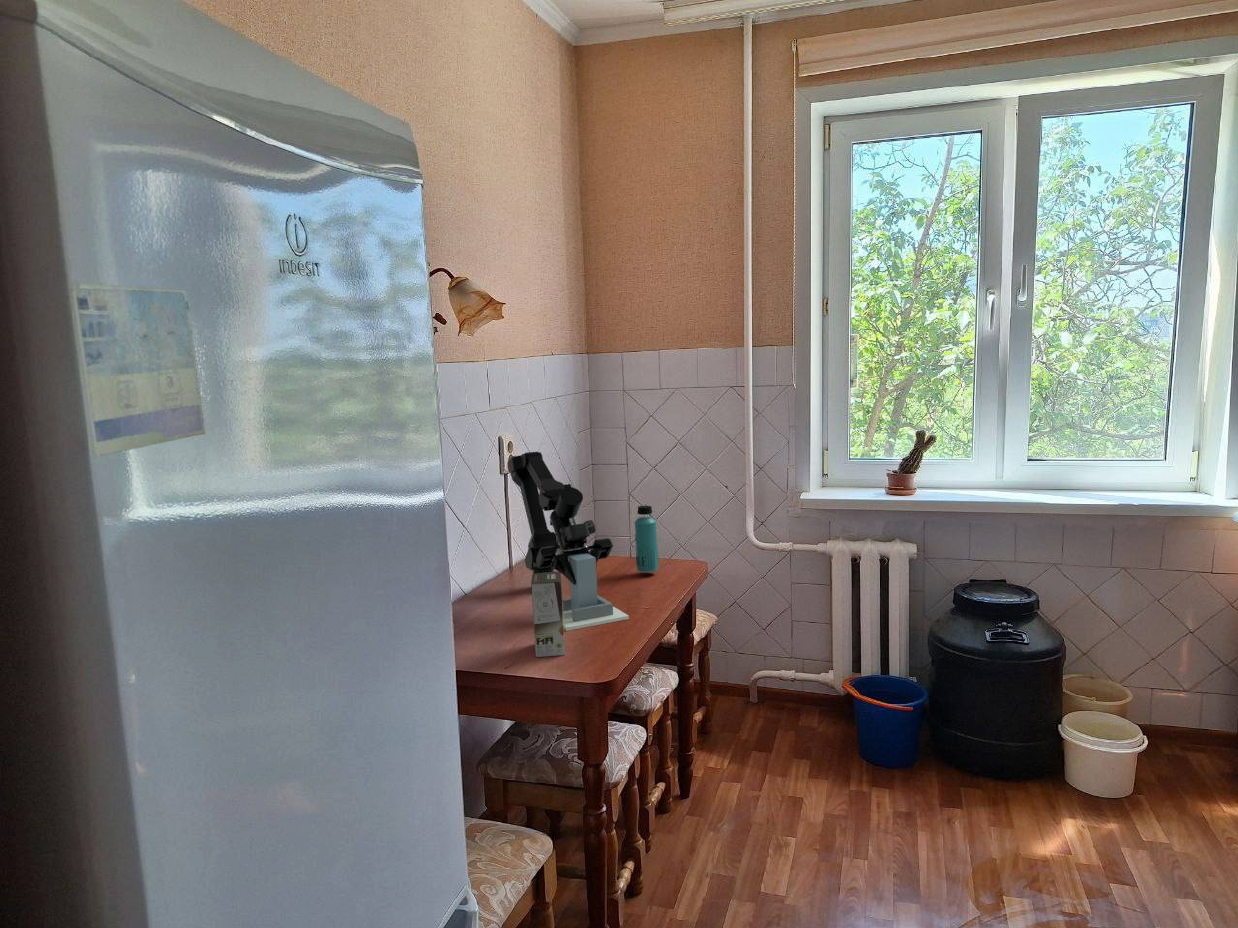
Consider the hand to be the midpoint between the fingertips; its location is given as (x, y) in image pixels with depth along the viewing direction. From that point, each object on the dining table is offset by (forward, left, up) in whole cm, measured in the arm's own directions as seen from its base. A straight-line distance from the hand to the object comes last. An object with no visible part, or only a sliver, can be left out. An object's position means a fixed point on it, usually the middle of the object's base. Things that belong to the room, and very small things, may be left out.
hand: (585, 582), depth 199 cm
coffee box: (+20, -10, -9) cm, 24 cm away
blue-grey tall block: (-1, 0, -7) cm, 7 cm away
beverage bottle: (-34, +22, -9) cm, 42 cm away
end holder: (-1, 0, -9) cm, 9 cm away
